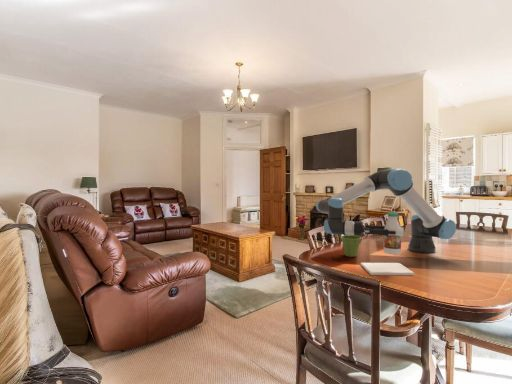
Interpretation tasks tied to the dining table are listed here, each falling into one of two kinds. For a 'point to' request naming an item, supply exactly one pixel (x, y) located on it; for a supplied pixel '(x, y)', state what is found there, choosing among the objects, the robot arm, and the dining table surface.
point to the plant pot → (350, 245)
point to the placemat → (386, 269)
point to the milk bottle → (392, 241)
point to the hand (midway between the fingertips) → (403, 231)
